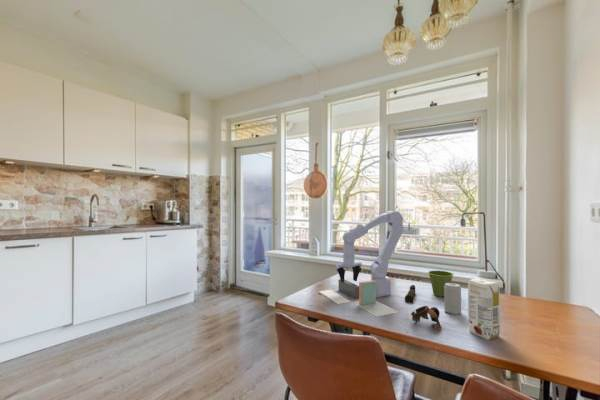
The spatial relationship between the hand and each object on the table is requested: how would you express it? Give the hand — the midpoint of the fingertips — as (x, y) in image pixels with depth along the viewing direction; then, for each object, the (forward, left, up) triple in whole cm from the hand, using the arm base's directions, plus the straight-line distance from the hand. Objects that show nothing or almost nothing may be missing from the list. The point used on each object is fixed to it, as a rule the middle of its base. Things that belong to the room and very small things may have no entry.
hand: (348, 281), depth 145 cm
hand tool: (-26, +16, -7) cm, 31 cm away
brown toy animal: (-8, +44, -7) cm, 45 cm away
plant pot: (-43, +19, -7) cm, 48 cm away
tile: (0, +16, -6) cm, 17 cm away
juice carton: (-20, +57, -7) cm, 61 cm away
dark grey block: (0, 0, -7) cm, 7 cm away
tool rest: (+10, +2, -7) cm, 12 cm away
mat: (0, +22, -7) cm, 23 cm away
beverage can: (-28, +38, -7) cm, 48 cm away
